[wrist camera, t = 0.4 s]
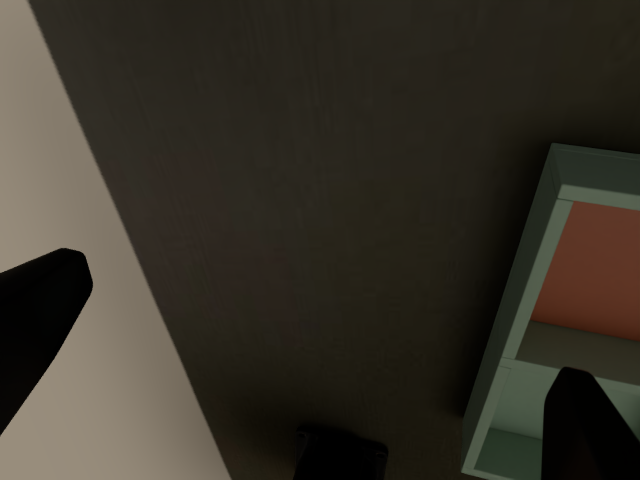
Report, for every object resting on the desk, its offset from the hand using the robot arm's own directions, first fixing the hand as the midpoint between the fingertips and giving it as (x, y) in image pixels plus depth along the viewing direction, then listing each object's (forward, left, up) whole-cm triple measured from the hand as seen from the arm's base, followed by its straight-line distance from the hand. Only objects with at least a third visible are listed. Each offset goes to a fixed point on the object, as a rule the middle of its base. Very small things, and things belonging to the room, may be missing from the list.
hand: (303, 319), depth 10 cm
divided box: (-11, -11, -15) cm, 21 cm away
